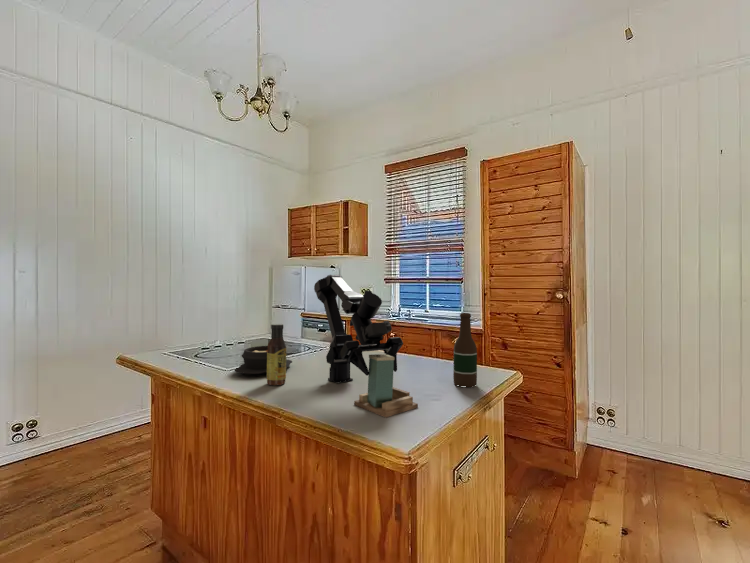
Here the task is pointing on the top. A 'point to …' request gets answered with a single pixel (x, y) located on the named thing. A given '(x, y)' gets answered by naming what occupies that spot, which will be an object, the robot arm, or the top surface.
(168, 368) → the top surface
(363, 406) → the wooden square frame
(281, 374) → the sauce bottle
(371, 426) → the top surface
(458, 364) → the beer bottle
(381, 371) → the tea tin
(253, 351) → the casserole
